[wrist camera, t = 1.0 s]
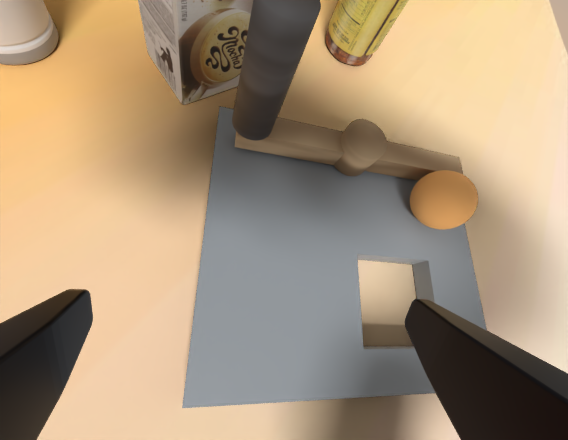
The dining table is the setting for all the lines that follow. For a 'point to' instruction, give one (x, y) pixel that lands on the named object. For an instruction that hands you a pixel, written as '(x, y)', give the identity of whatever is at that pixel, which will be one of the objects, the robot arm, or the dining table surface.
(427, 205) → the ball
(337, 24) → the sauce bottle
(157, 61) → the coffee box
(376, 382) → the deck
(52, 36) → the travel mug
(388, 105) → the dining table surface
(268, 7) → the lever
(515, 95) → the dining table surface
